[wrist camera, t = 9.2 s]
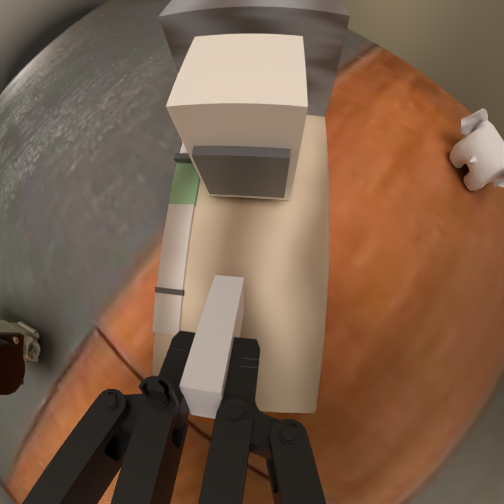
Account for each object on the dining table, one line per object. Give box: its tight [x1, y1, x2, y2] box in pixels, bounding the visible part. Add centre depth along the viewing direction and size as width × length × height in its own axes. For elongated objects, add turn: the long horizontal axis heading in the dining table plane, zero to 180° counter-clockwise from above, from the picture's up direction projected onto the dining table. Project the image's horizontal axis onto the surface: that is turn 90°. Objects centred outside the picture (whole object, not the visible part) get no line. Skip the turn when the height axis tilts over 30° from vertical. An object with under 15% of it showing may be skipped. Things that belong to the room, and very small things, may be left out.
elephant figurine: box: [449, 109, 504, 191], centre depth 18 cm, size 8×10×7 cm
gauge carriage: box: [166, 34, 308, 200], centre depth 16 cm, size 9×8×10 cm
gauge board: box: [152, 0, 350, 413], centre depth 15 cm, size 12×28×12 cm, turn 175°
